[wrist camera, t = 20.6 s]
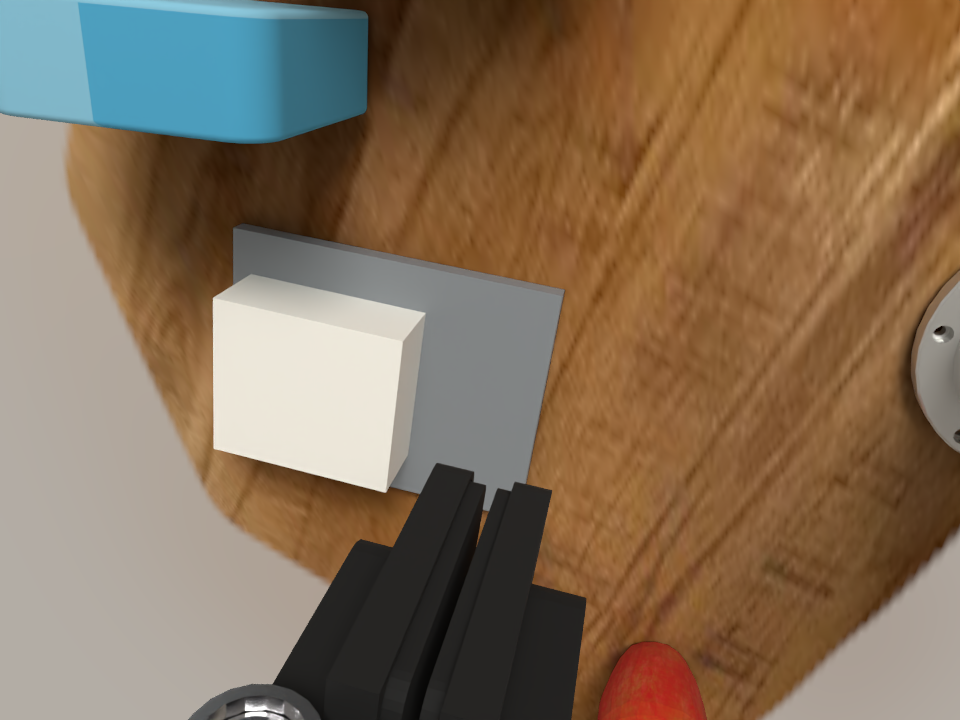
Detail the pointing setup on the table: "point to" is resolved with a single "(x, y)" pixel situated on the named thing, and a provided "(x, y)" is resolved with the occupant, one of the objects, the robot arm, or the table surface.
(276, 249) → the board
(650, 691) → the apple
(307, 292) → the slab
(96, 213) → the table surface
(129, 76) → the data package
